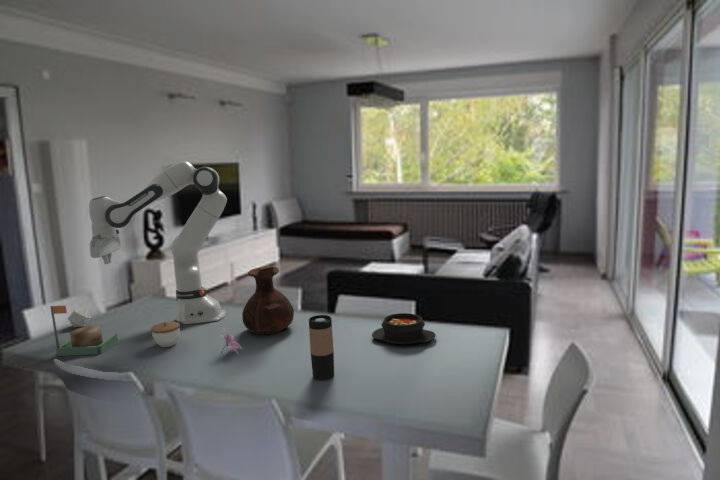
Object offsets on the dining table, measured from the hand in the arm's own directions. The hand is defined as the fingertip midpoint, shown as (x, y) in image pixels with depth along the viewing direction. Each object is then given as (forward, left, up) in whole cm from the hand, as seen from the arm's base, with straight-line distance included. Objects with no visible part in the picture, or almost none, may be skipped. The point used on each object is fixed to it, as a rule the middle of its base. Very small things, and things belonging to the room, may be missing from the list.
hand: (107, 263), depth 226 cm
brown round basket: (-2, +28, -29) cm, 40 cm away
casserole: (-129, +32, -29) cm, 136 cm away
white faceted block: (+17, -1, -29) cm, 34 cm away
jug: (-73, +15, -29) cm, 80 cm away
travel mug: (-100, +62, -29) cm, 121 cm away
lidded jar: (-34, +27, -29) cm, 52 cm away
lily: (-63, +38, -29) cm, 79 cm away
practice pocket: (-2, +27, -29) cm, 40 cm away
